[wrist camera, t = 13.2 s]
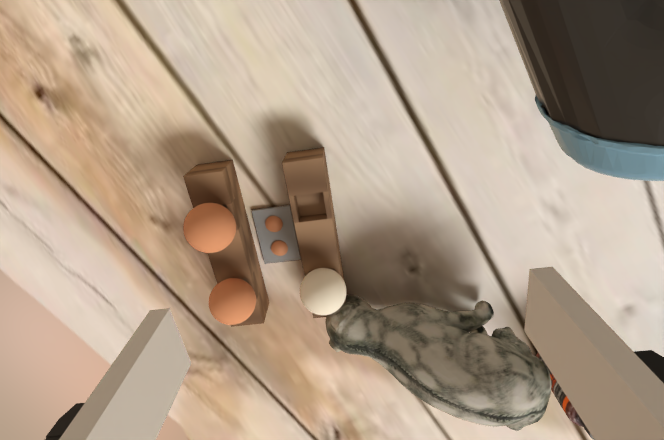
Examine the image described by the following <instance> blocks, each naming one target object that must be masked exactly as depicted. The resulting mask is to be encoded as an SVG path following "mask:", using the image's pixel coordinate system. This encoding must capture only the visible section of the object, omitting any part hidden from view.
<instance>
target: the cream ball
mask: <svg viewBox="0 0 664 440" xmlns="http://www.w3.org/2000/svg"><path fill="white" fill-rule="evenodd" d="M300 297H301V300H302V303H303V304H304V306H305V307H306V308H307V309H308V310H309V311H310V312H312V313H314V314H317V315H329V314H332V313H334V312H336V311H337V310H338V309H339V308H340V307H341V306H342V305H343V303H344V301H345V298H346V285H345V282H344V280H343V278H342V277H341V276H340V275H339V274H338V273H337V272H336V271H334V270H332V269H328V268H318V269H315V270H313V271H311V272H309V273H308V274H307V275H306V276H305V278H304V279H303V281H302V283H301V286H300Z"/></svg>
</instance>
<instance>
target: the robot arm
mask: <svg viewBox="0 0 664 440" xmlns="http://www.w3.org/2000/svg"><path fill="white" fill-rule="evenodd" d="M499 1H500V3H501V6H502V8H503V11H504V13H505V16H506V19H507V21H508V24H509V26H510V29H511V31H512V34H513V37H514V39H515V42H516V44H517V47H518V49H519V52H520V55H521V57H522V60H523V62H524V65H525V67H526V70H527V72H528V75H529V78H530V80H531V83H532V85H533V88H534V90H535V93H536V97H535V101H536V104H537V107H538V109H539V111H540V113H541V114H542V115H543V117H544V118H545V119H546V120H547V121H548V122H549V124H550V127H551V129H552V131H553V133H554V135H555V138H556V140H557V142H558V144H559V146H560V147H561V149H562V150H563V151H564V152H565V153H566V154H567V155H568V156H570V157H571V158H573V159H574V160H575V161H576V162H577V163H578V164H580V165H582V166H583V167H585V168H588V169H590V170H593V171H595V172H598V173H601V174H605V175H608V176H613V177H618V178H624V179H633V180H647V181H664V0H499ZM524 331H525V333H526V334H527V336H528V337H529V339H530V340H531V342H532V343H533V345H534V346H535V348H536V350H537V351H538V353H539V354H540V356H541V357H542V359H543V360H544V362H545V364H546V365H547V367H548V368H549V370H550V371H551V373H552V374H553V376H554V377H555V379H556V381H557V382H558V384H559V385H560V387H561V388H562V390H563V391H564V393H565V395H566V396H567V398H568V399H569V401H570V402H571V404H572V405H573V407H574V408H575V410H576V412H577V413H578V415H579V416H580V418H581V419H582V421H583V422H584V424H585V426H586V427H587V429H588V430H589V432H590V433H591V435H592V436H593V438H594V439H595V440H664V357H662V356H660V355H659V354H657V353H655V352H654V351H652V350H648V351H637V352H633V351H632V350H631V349H630V348H629V347H628V346H627V345H626V344H625V342H624V341H623V340H622V339H621V338H620V337H619V336H618V335H617V334H616V333H615V332H614V331H613V330H612V329H611V328H610V327H609V326H608V325H607V324H606V323H605V322H604V320H603V319H602V318H601V317H600V316H599V315H598V314H597V313H596V312H595V311H594V310H593V309H592V308H591V307H590V306H589V305H588V304H587V303H586V302H585V301H584V300H583V298H582V297H581V296H580V295H579V294H578V293H577V292H576V291H575V290H574V289H573V288H572V287H571V286H570V285H569V284H568V283H567V282H566V281H565V280H564V279H563V278H562V276H561V275H560V274H559V273H558V272H557V271H556V270H555V269H554V268H553V267H546V268H536V269H530V271H529V282H528V294H527V306H526V317H525V329H524ZM190 365H191V361H190V358H189V356H188V353H187V351H186V348H185V346H184V343H183V341H182V338H181V336H180V333H179V330H178V328H177V325H176V323H175V320H174V318H173V315H172V313H171V310H170V308H168V309H159V310H150V311H149V313H148V314H147V316H146V317H145V319H144V320H143V321H142V323H141V324H140V326H139V327H138V328H137V330H136V331H135V333H134V334H133V336H132V337H131V338H130V340H129V341H128V343H127V344H126V345H125V347H124V348H123V350H122V351H121V353H120V354H119V355H118V357H117V358H116V360H115V361H114V362H113V364H112V365H111V367H110V368H109V370H108V371H107V372H106V374H105V375H104V377H103V378H102V379H101V381H100V382H99V384H98V385H97V387H96V388H95V390H94V391H93V392H92V394H91V395H90V397H89V398H88V399H87V401H86V402H85V403H79V404H75V405H74V406H73V407H72V408H71V409H70V410H69V411H68V412H67V413H65V414H64V415H63V416H62V417H61V418H60V419H59V420H58V421H57V422H56V424H55V425H54V427H53V428H52V429H51V431H50V432H49V433H48V435H47V436H46V440H156V438H157V436H158V434H159V432H160V430H161V428H162V425H163V423H164V421H165V419H166V417H167V415H168V412H169V410H170V408H171V406H172V404H173V402H174V399H175V397H176V395H177V393H178V391H179V389H180V386H181V384H182V382H183V380H184V378H185V376H186V373H187V371H188V369H189V367H190Z"/></svg>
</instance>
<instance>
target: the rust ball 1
mask: <svg viewBox="0 0 664 440" xmlns="http://www.w3.org/2000/svg"><path fill="white" fill-rule="evenodd" d="M183 230H184V235H185V238H186V240H187V241H188V243H189V244H190V245H191V246H192V247H193V248H195V249H196V250H198V251H201V252H205V253H214V252H218V251H221V250H223V249H225V248H226V247H227V246H228V245H229V244H230V243H231V242H232V240H233V239H234V236H235V233H236V222H235V219H234V217H233V215H232V213H231V212H230V211H229V210H228V209H227V208H225V207H224V206H222V205H220V204H217V203H203V204H200V205H198V206H196V207H194V208H193V209H192V210H191V211H190V212H189V213H188V215H187V216H186V218H185V221H184V227H183Z"/></svg>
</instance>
